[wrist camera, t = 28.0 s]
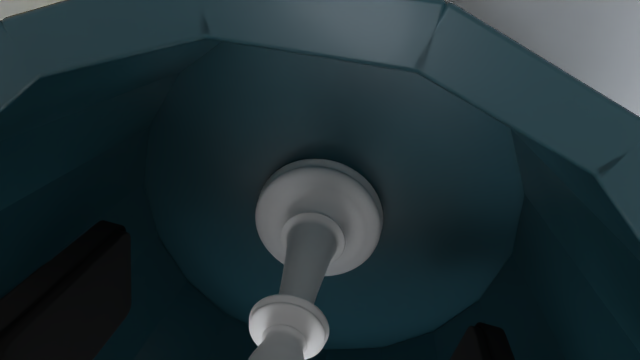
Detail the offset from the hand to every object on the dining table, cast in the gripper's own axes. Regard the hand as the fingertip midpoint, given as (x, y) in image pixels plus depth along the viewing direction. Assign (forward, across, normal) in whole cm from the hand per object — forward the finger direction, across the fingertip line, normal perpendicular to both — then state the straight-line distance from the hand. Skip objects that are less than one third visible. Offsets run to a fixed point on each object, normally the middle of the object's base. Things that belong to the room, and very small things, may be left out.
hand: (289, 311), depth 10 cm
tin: (+6, 0, 0) cm, 6 cm away
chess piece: (+5, 0, 0) cm, 5 cm away
